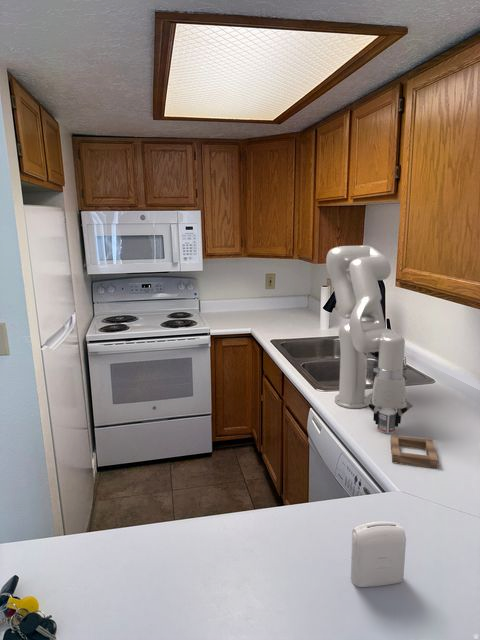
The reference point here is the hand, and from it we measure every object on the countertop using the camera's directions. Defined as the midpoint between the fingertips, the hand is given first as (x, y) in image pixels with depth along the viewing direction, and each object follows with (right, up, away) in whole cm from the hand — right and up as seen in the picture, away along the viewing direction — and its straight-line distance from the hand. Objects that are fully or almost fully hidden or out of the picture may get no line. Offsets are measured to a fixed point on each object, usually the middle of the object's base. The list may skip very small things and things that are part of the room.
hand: (386, 423), depth 142 cm
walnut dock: (+3, -6, -14) cm, 16 cm away
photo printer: (-22, -17, -58) cm, 64 cm away
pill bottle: (0, -2, +1) cm, 3 cm away
